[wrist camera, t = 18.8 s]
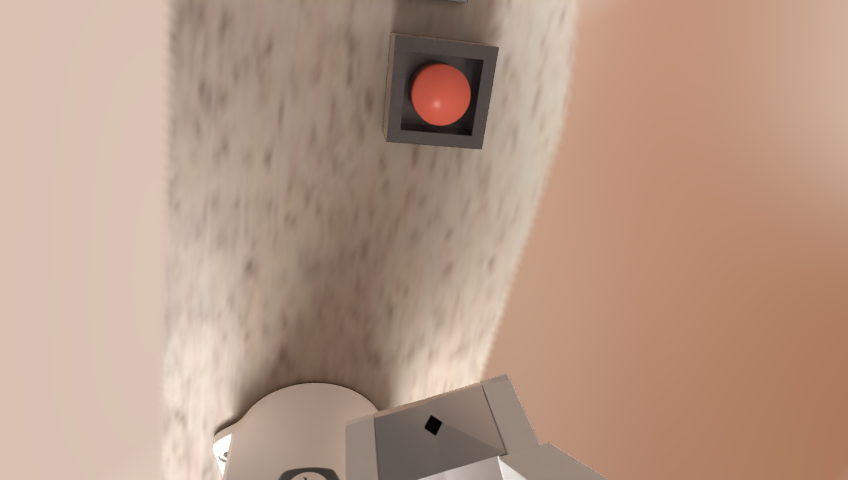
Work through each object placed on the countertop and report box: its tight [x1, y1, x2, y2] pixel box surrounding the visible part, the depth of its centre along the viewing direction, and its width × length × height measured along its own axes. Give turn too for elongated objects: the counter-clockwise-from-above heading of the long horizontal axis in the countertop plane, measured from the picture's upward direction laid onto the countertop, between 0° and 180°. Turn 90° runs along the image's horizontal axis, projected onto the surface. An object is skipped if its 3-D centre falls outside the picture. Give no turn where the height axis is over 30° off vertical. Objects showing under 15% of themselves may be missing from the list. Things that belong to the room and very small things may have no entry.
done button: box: [409, 62, 471, 126], centre depth 35 cm, size 4×4×2 cm
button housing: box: [383, 32, 499, 149], centre depth 35 cm, size 7×7×4 cm
